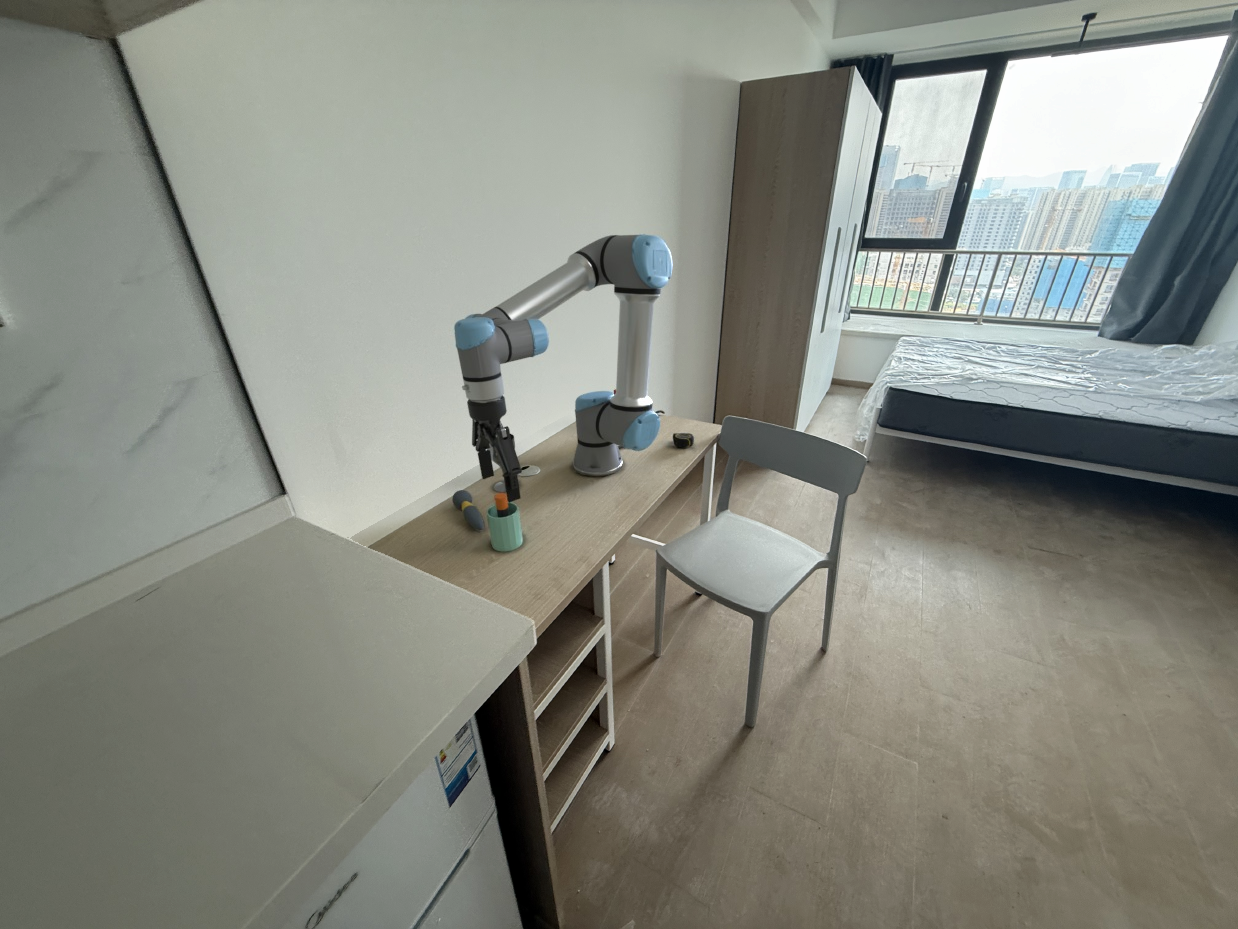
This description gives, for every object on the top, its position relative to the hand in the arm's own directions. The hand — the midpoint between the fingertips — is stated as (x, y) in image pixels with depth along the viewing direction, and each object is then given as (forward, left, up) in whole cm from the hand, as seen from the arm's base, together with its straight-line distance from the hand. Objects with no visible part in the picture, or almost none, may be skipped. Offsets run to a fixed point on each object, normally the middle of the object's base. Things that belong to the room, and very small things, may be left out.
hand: (500, 488), depth 108 cm
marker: (0, 0, -14) cm, 14 cm away
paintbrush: (+2, -17, -15) cm, 23 cm away
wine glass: (-12, -26, -15) cm, 32 cm away
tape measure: (-71, -15, -15) cm, 74 cm away
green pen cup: (0, 0, -14) cm, 15 cm away
